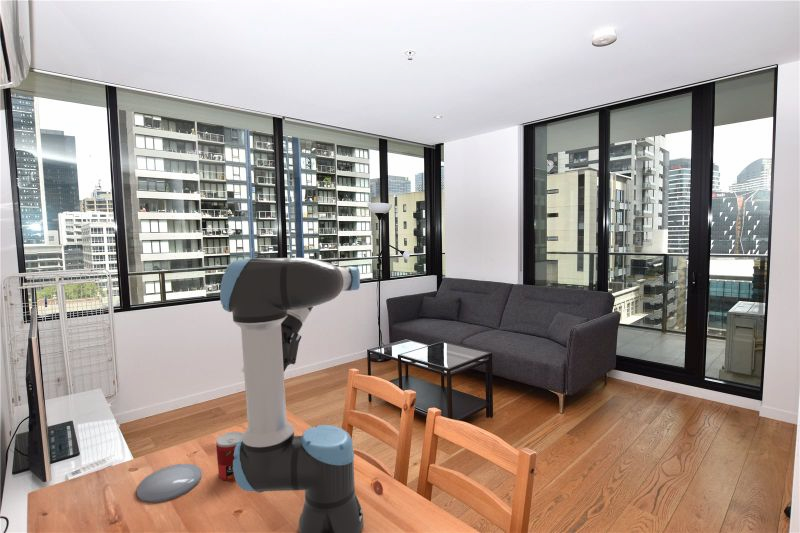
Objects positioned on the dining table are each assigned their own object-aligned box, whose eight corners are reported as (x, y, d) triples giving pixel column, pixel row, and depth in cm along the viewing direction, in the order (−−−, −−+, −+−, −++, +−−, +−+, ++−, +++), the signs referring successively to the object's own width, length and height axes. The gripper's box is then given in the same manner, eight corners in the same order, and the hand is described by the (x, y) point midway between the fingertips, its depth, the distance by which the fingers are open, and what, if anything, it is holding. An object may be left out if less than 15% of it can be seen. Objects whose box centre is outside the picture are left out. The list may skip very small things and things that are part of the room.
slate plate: (210, 481, 118) (210, 478, 118) (147, 511, 107) (147, 507, 106) (189, 460, 129) (188, 457, 129) (129, 485, 117) (129, 481, 117)
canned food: (228, 485, 116) (225, 448, 115) (213, 475, 121) (210, 439, 120) (252, 471, 122) (250, 436, 121) (237, 462, 127) (234, 428, 126)
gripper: (326, 329, 132) (292, 392, 122) (276, 318, 146) (242, 373, 137) (312, 317, 127) (275, 382, 117) (262, 307, 141) (225, 363, 131)
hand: (257, 377), depth 127 cm, fingers open, 13 cm apart
